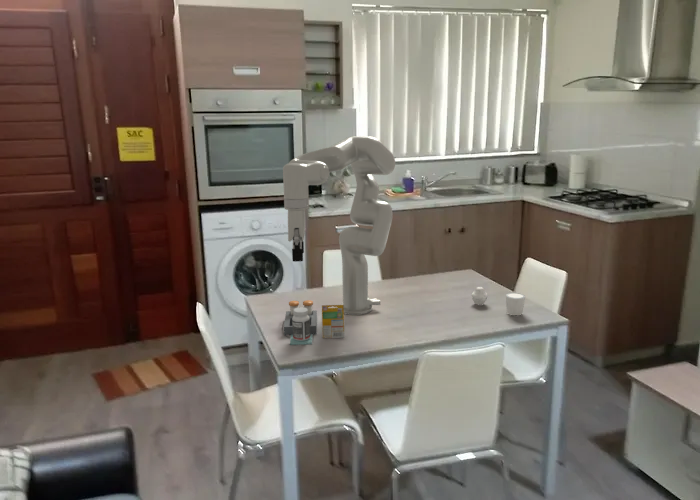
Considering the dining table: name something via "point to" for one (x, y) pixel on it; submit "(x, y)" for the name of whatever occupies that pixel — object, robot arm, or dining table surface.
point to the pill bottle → (301, 324)
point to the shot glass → (515, 303)
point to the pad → (295, 342)
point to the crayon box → (333, 321)
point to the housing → (289, 327)
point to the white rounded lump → (479, 296)
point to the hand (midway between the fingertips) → (298, 257)
